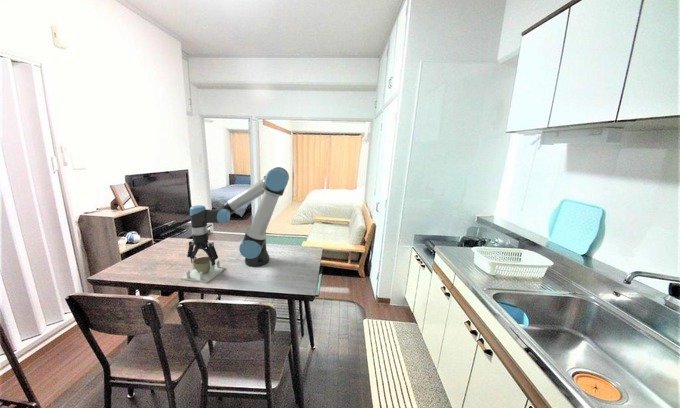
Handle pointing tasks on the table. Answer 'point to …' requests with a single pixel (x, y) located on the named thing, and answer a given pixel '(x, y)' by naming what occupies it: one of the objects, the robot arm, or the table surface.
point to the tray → (201, 277)
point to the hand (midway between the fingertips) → (204, 269)
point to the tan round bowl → (202, 264)
